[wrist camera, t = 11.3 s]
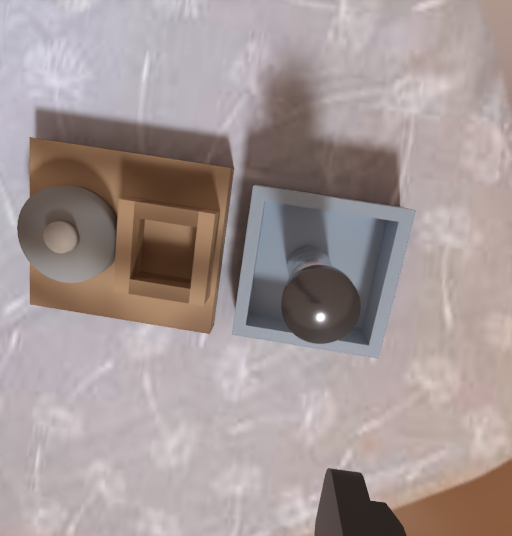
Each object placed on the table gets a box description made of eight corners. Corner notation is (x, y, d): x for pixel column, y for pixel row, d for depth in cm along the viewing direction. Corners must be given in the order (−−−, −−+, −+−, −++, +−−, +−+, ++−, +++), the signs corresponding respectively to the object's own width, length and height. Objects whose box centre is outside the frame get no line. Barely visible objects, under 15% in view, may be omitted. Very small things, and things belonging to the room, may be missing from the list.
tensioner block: (45, 139, 31) (6, 133, 27) (234, 168, 31) (226, 167, 26) (43, 297, 35) (9, 314, 30) (213, 324, 34) (203, 347, 30)
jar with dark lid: (286, 235, 31) (288, 263, 21) (340, 244, 31) (368, 276, 21) (277, 287, 32) (275, 337, 22) (329, 296, 32) (351, 349, 22)
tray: (256, 184, 31) (253, 185, 28) (400, 206, 31) (415, 210, 27) (236, 318, 34) (231, 334, 30) (368, 339, 34) (378, 358, 30)
